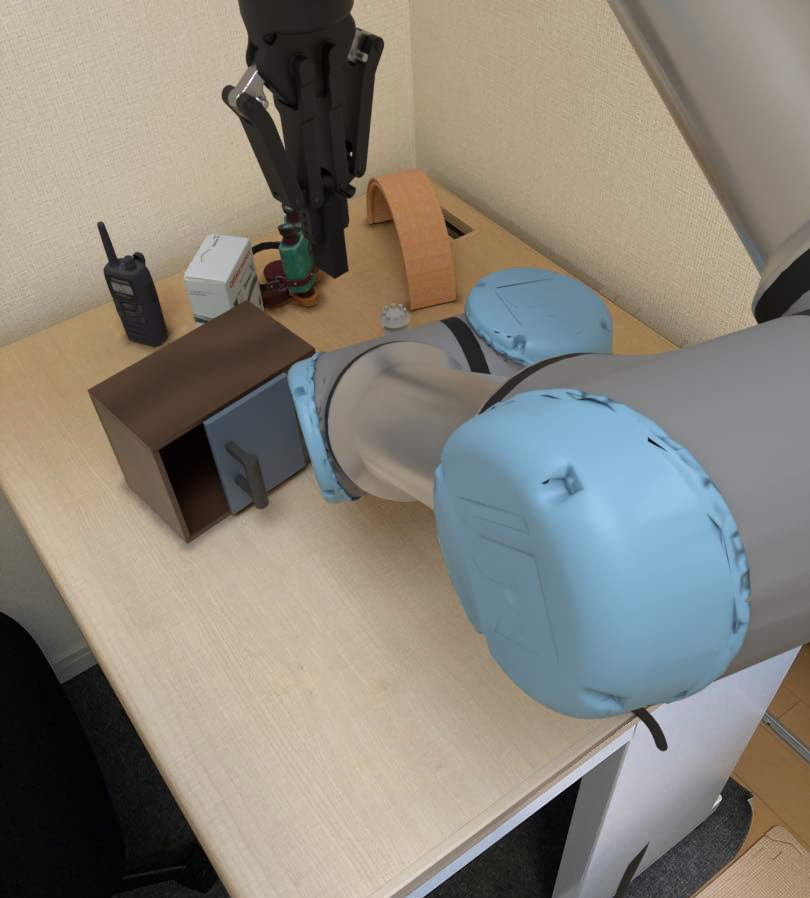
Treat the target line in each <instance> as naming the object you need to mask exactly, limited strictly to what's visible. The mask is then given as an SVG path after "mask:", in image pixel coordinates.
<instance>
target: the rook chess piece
mask: <svg viewBox="0 0 810 898" xmlns="http://www.w3.org/2000/svg"><path fill="white" fill-rule="evenodd" d="M378 320H379V324H381V325H382V329H381V330H382V334H383V336H385V335H389V334H392V333H396V332H399V331H403V330H406V329H410V327H409V326H408V324H409V322H410V321H411V314H410V312H408V311H407V307H404V305H403V304H402V303H399V304H398V306H396V302H392V303H390V307H389V306H388V305H387V304H386V305H385V306H383V309H382V310H381V313H380V315H379V318H378Z"/></svg>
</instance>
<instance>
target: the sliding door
mask: <svg viewBox="0 0 810 898" xmlns="http://www.w3.org/2000/svg"><path fill="white" fill-rule="evenodd" d="M203 424H204V428H205V431H206V434H207V437H208V441H209V444H210V447H211V450H212V454H213V457H214V460H215V463H216V466H217V470H218V473H219V476H220V479H221V483H222V486H223V489H224V492H225V496H226V499H227V502H228V505H229V509H230V512H231V513H232V515H235V514H237V513H239V512H240V511H242V510H243V509H244V508H246V507H247V506H249V505H250V504H252V503H253V506H254V507H255V509H257V510H264V509H266V508H268V507H269V505H270V500H269V496H268V492H269V491H271V490H272V489H274V488H275V487H277V486H278V485H280V484H281V483H282V482H284V481H285V480H287V479H288V478H290V477H291V476H293V475H294V474H296V473H298V472H299V471H300V470H302V469H303V468H305V467H306V466H307V465H306V464H305V460H304V455H303V450H302V445H301V440H300V435H299V430H298V424H297V419H296V414H295V409H294V404H293V399H292V394H291V391H290V388H289V384H288V380H287V374H286V373H282V374H280V375H279V376H277V377H275V378H274V379H272V380H271V381H269V382H267V383H266V384H264V385H262V386H261V387H259V388H258V389H256V390H254V391H253V392H251V393H250V394H248V395H246V396H245V397H243V398H241V399H240V400H238V401H237V402H235V403H233V404H232V405H230V406H228V407H227V408H225V409H224V410H222V411H220V412H219V413H217V414H216V415H214V416H212V417H211V418H209V419H207V420H206V421H204V422H203Z"/></svg>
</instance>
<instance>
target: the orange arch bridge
mask: <svg viewBox="0 0 810 898" xmlns="http://www.w3.org/2000/svg"><path fill="white" fill-rule="evenodd" d="M365 196H366V197H365V202H366V203H365V204H366V205H365V206H366V207H365V209H366V221H367V222H368V224H370V225H371V224H377V223H378V224H379V223H384V222H387V221H392V220H393V223H394V227H395V230H396V234H397V239H398V242H399V246H400V250H401V255H402V260H403V265H404V271H405V277H406V284H407V285H406V286H407V292H408V303H409V305H408V306H409V309H410V311H413V310H418V309H422V308H426V307H431V306H436V305H441V304H444V303H449V302H453V301H457V285H456V283H457V282H456V276H455V275H456V274H455V265H454V258H453V252H452V247H451V242H450V237H449V233H448V229H447V225H446V220H445V216H444V213H443V210H442V207H441V205H440V201H439V197H438V196H437V193H436V191H435V189H434V186H433V184H432V182H431V180H430V179H429V176H427V175H426V173H425V172H424V171H423V170H422V169H421V168H412V169H406V170H401V171H398V172H392V173H388V174H387V173H386V174H383V175H378V176H372V177H370V179H369V180H368V182H367V185H366V195H365Z"/></svg>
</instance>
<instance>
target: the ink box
mask: <svg viewBox="0 0 810 898" xmlns="http://www.w3.org/2000/svg"><path fill="white" fill-rule="evenodd" d="M252 247H253V246H252V243H251V238H250V237H248V236H247V237H246V236H239V235H231V234H220V233H211V234H208V235H206V236H205V238H204V240H203V241H202V242H201V245H200V247H199V249H198V250H197V252H196V253H195V254H194V257H193V258H192V260H191V262H190V263H189V264H188V266H187V269H186V270H185V272H184V275H183V282H184V285H185V290H186V293H187V296H188V297H187V298H188V301H189V305H190V309H191V312H192V316H193V319H194V323H195V326H196V328H198V327H200V326H201V325H203V324H205V323H207V322H208V321H210V320H212V319H214V318H215V317H217V316H219V315H221V314H222V313H224V312H226V311H228V310H230V309H231V308H233V307H235V306H237V305H238V304H240V303H242V302H244V301H245V300H248V301H250V302H251V303H253V304H254V305H255V306H257V307H258V308H260V309H261V310H262V311H264V312H265V308H264V307H265V306H263V302H262V298H261V292H260V287H259V284H260V283H259V279H258V272H257V268H256V263H255V258H254V255H253V252H252Z"/></svg>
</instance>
